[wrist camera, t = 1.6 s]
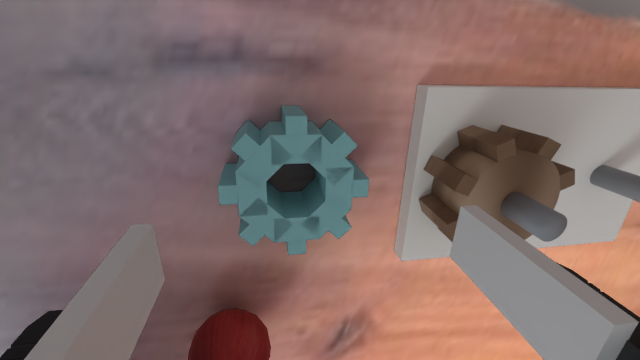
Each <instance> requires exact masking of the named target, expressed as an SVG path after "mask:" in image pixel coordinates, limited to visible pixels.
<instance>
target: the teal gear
mask: <svg viewBox="0 0 640 360" xmlns="http://www.w3.org/2000/svg"><path fill="white" fill-rule="evenodd" d="M281 118H282V121H269V122H268V123H267V124H266V125H265V126H264V127H263V128H262V129H261V130H259V129H258V128H257V127H256V126H255V125H254V124H253V123H252V122H251V121H250V120H248V121H247V122H246V123H245V124H244V125H243V126H242V127H241V128H240V129H239V130H238V131H237V132H236V135H235V138H234V141H233V144H232V146H231V149H232V150H233V151H234V152H235V153H236V154H238V155H239V158H238V162H237V163H229V164H225V166H224V169H223V172H222V175H221V178H220V181H219V183H218V194H219V203H220V205H227V204H238V209H239V217H241V220H240V228H239V236H240V237H241V238H242V239H244V240H245V241H247V242H248V243H250V244H251V245H252V246H254V245H255V244H256V243H257V242H258V241H259V240H260V239H261V238H262V237H263V236H264V235H265V236H266V237H268V238H269V239H270V240H272V241H273V242H274V243H275V242H286V244H287V251H288V255H294V254H305V253H306V240H313V239H319V238H321V237H322V236H323V235H324V234H325V233H326V232H327V231H329V232H331V233H332V234H333V235H334V236H335V237H337V238H338V239H339V238H341V237H342V236H343V235H344V234H345V233H346V232H347V231H348V230H349V229H350V228H352V227H351V225H350V223H349V221H348V219H347V218H346V216H345V214H347V213H348V212H349V211H350V210H351V202H352V198H353V197H368V187H369V178H368V177H367V176H366V175H365V174H364V173H363V172H362V171H361V169H360V168H359V167H358V166H357V165H356V164H355V163H354V162H353V160H348V159H347V158H346V157H347V156H348V155H349V154H350V153H351V152H352V151H353V150H354V149H355V148H356V147H357V146H358V145H357V144H356V143H355V142H354V141H353V140H352V139H351V138H350V137H349V136H348V135H347V134H346V133H345V132H344V131H343V130H342V129H341V128H340V127H339V126H338V125H337V124H335V123H334V122H333V121H332V120H331V119H330V120H329V121H328V122H327V123H326V124H325V125H324V126H323V127H322V128H321V129H319V128H318V127H317V126H316V125H315V124H314V123H313V122H312V121H307V115H306V114H305V113H304V111H303V110H302V109H301V107H300V106H281ZM300 163H310V164H311V165H312V166H313V167H314V168H315V178H314V179H313V180H312V181H311V182H310V183H309V184H308V185H307V186H306V187H305V188H304V189H303V190H302V191H297V192H280V191H279V190H278V189H277V188H275V187H274V186H273V185H272V184H271V183H269V182H268V181H267V180H268V179H269V178H270V177H271V176H272V175H273V174H274V173H275V172H276V171H277V170H278V169H279V168H280V167H281V166H282V165H283V164H300Z"/></svg>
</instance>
